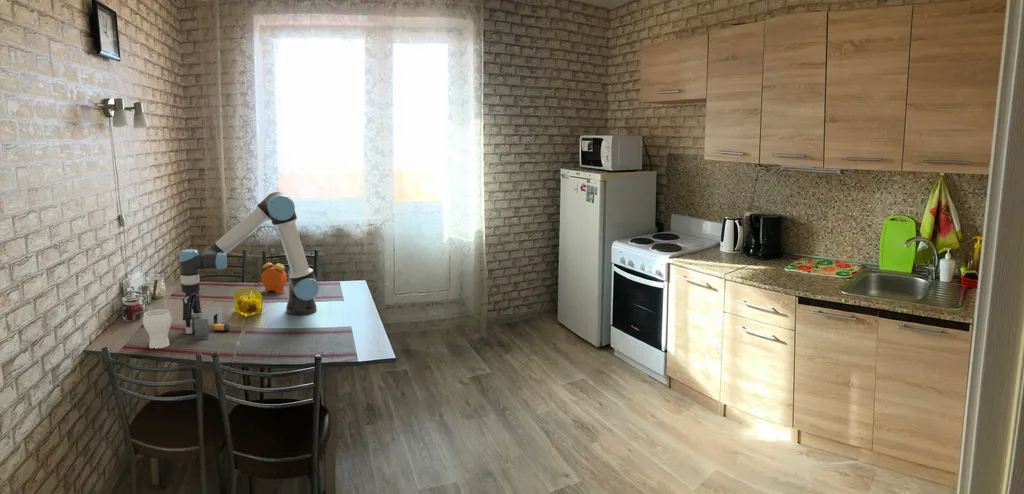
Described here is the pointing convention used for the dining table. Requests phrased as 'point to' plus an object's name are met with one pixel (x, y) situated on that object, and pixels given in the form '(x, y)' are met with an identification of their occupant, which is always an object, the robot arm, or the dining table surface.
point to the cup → (158, 327)
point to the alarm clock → (274, 277)
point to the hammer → (216, 326)
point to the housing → (207, 322)
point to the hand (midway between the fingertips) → (193, 330)
